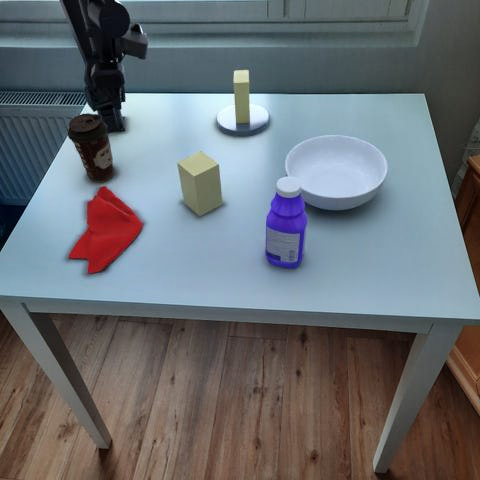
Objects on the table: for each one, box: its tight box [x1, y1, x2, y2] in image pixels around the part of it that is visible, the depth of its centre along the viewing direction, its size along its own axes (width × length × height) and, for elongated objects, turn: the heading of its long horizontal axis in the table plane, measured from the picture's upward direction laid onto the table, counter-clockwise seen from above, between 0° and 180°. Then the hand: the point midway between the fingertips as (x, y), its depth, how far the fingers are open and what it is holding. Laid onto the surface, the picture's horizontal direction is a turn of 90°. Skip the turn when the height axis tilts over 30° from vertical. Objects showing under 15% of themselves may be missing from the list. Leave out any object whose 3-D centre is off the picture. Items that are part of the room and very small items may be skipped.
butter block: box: [176, 150, 224, 217], centre depth 97 cm, size 6×6×10 cm
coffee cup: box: [67, 112, 116, 183], centre depth 103 cm, size 9×8×13 cm
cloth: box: [67, 185, 144, 275], centre depth 96 cm, size 26×14×2 cm, turn 177°
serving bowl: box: [284, 134, 389, 211], centre depth 99 cm, size 21×21×7 cm
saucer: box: [216, 103, 270, 138], centre depth 119 cm, size 13×13×2 cm
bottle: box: [264, 176, 308, 269], centre depth 83 cm, size 7×6×17 cm
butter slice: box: [233, 69, 251, 123], centre depth 114 cm, size 4×6×10 cm, turn 0°
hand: (119, 98), depth 103 cm, fingers open, 9 cm apart
